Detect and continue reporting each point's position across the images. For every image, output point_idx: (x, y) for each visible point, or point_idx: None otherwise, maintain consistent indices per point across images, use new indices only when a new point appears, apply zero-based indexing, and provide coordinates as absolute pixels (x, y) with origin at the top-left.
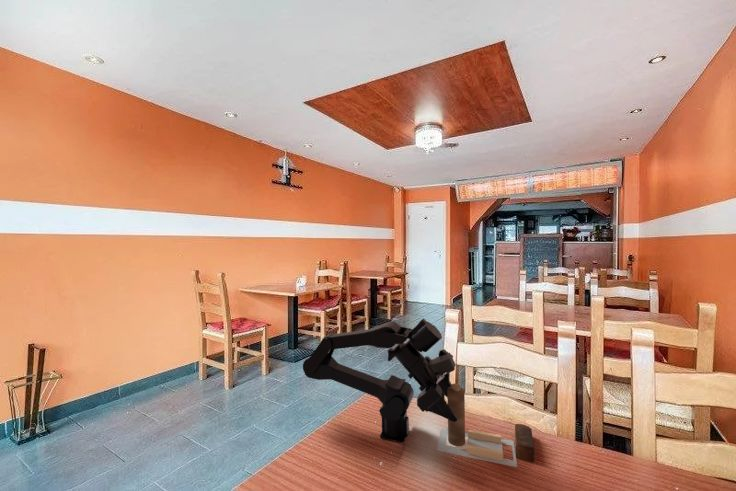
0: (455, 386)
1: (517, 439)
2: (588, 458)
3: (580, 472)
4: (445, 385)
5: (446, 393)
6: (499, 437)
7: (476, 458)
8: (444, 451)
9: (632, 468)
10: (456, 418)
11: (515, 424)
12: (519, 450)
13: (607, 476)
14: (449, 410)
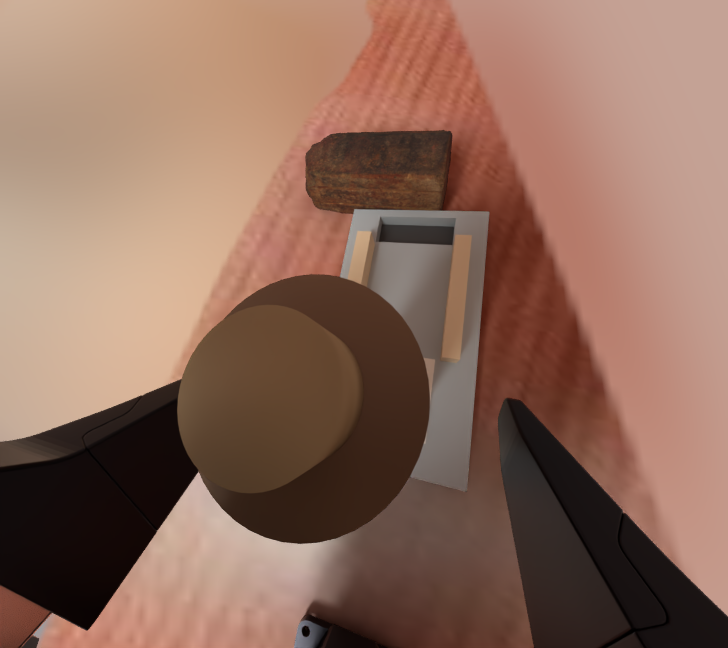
0: (302, 402)
1: (413, 169)
2: (382, 75)
3: (441, 93)
4: (100, 493)
5: (186, 462)
6: (370, 237)
7: (479, 330)
8: (465, 454)
9: (401, 15)
10: (525, 408)
11: (313, 172)
12: (444, 182)
13: (441, 52)
14: (612, 502)
